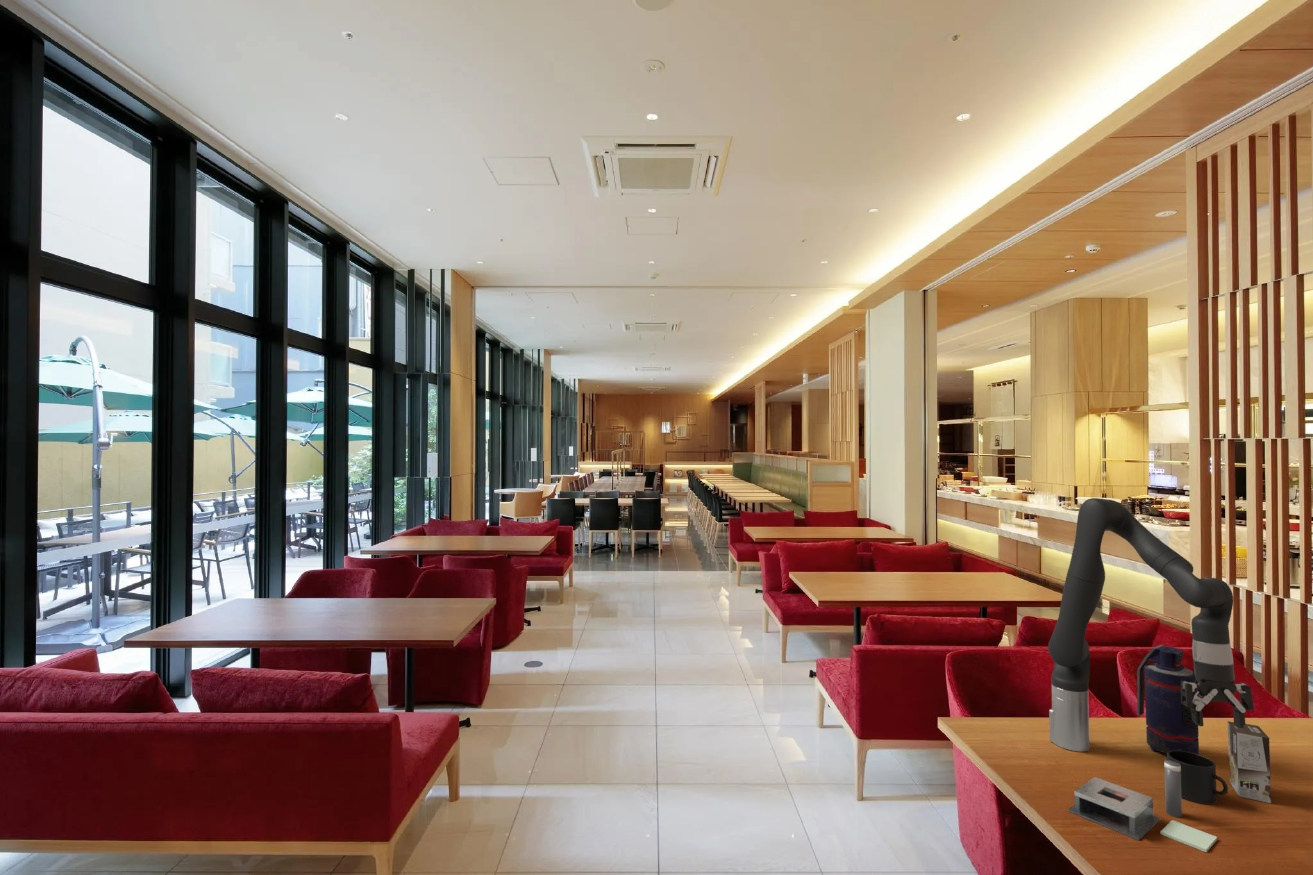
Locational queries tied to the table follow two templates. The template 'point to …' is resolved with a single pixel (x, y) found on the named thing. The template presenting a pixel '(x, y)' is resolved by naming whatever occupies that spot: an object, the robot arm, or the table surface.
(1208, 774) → the mug
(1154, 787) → the table surface
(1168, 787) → the peg
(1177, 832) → the pad
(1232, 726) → the coffee box
